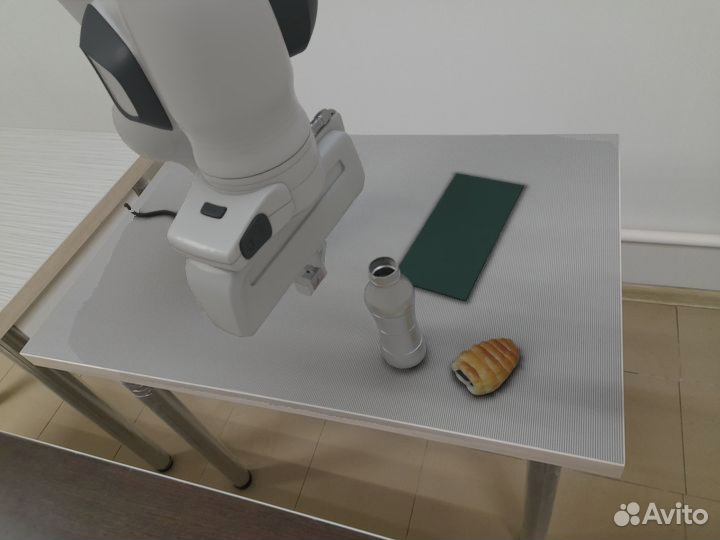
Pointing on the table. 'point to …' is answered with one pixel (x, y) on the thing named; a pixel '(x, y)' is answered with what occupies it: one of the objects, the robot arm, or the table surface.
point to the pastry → (486, 365)
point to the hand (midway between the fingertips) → (313, 283)
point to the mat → (459, 235)
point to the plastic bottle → (394, 313)
